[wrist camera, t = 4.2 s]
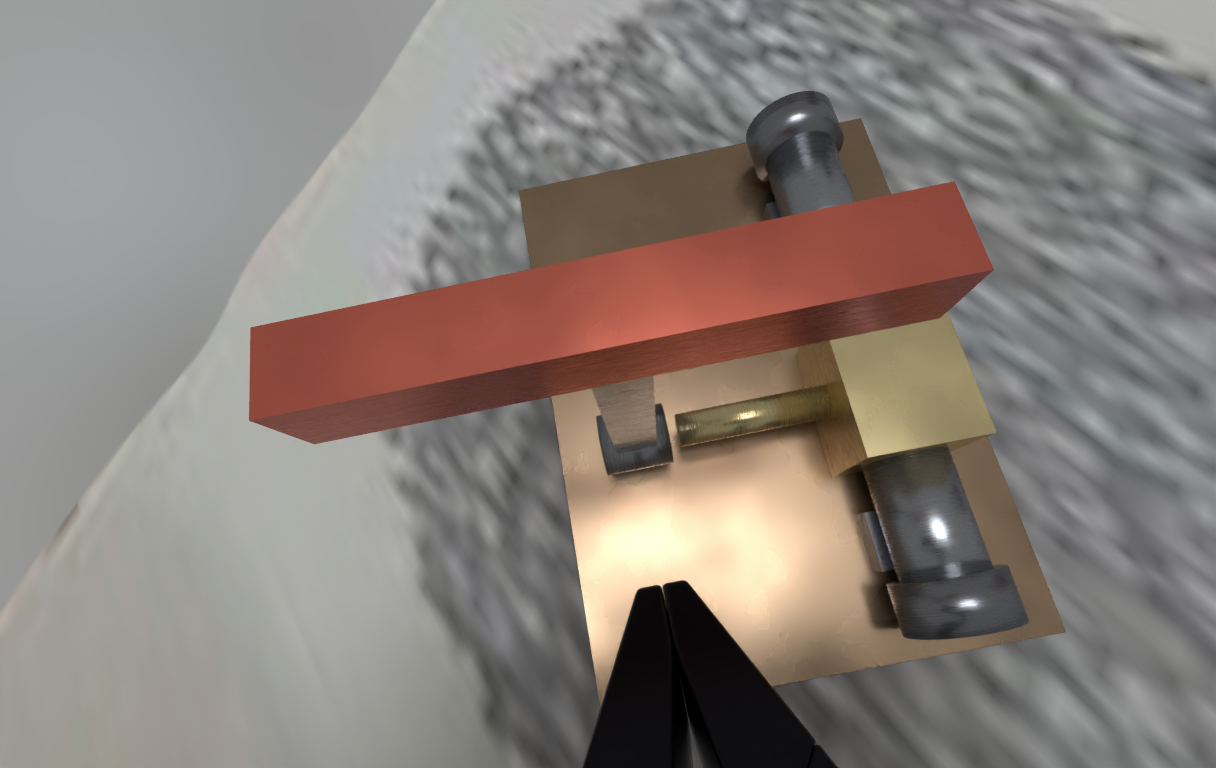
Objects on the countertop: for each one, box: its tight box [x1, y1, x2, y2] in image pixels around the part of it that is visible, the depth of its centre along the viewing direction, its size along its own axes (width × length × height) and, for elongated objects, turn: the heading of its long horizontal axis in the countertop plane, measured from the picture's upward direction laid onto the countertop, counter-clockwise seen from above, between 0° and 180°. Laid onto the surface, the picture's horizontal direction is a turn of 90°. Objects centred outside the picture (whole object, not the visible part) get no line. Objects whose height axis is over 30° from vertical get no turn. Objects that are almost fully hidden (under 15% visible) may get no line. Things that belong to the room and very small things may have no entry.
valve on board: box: [519, 91, 1066, 708], centre depth 22 cm, size 22×16×5 cm
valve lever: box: [249, 181, 994, 476], centre depth 16 cm, size 2×13×13 cm, turn 100°
